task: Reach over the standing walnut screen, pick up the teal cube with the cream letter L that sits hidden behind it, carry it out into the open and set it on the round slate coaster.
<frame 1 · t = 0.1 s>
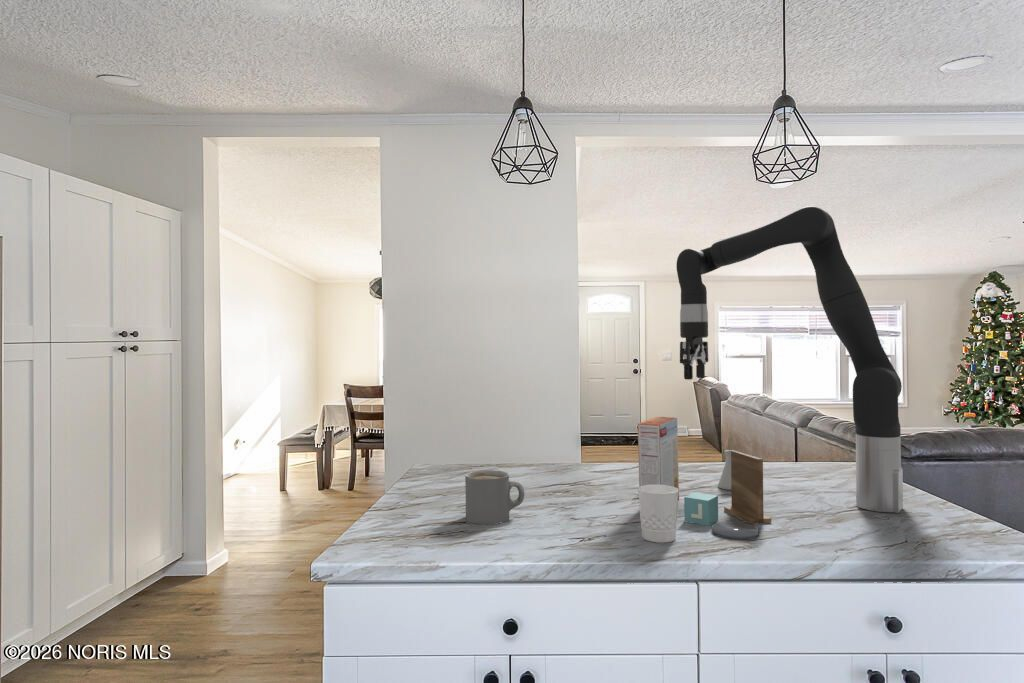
hand: (694, 378, 178), 29 cm above the counter, tool pointing down, fingers open, 8 cm apart
letter cube: (701, 521, 141), on the counter
coaster: (734, 532, 132), on the counter
flask: (731, 488, 172), on the counter
cracker box: (659, 506, 154), on the counter
white cup: (658, 538, 129), on the counter
screen: (747, 516, 144), on the counter
coffee mug: (495, 519, 145), on the counter
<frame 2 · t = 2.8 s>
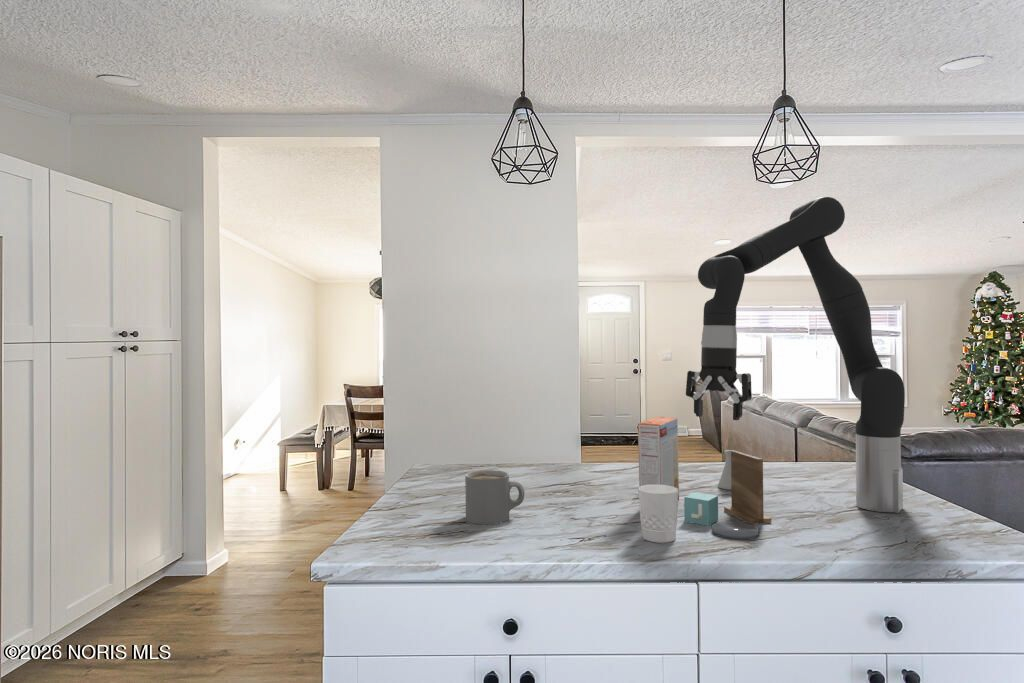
hand: (717, 418, 143), 22 cm above the counter, tool pointing down, fingers open, 8 cm apart
nothing on the counter moved.
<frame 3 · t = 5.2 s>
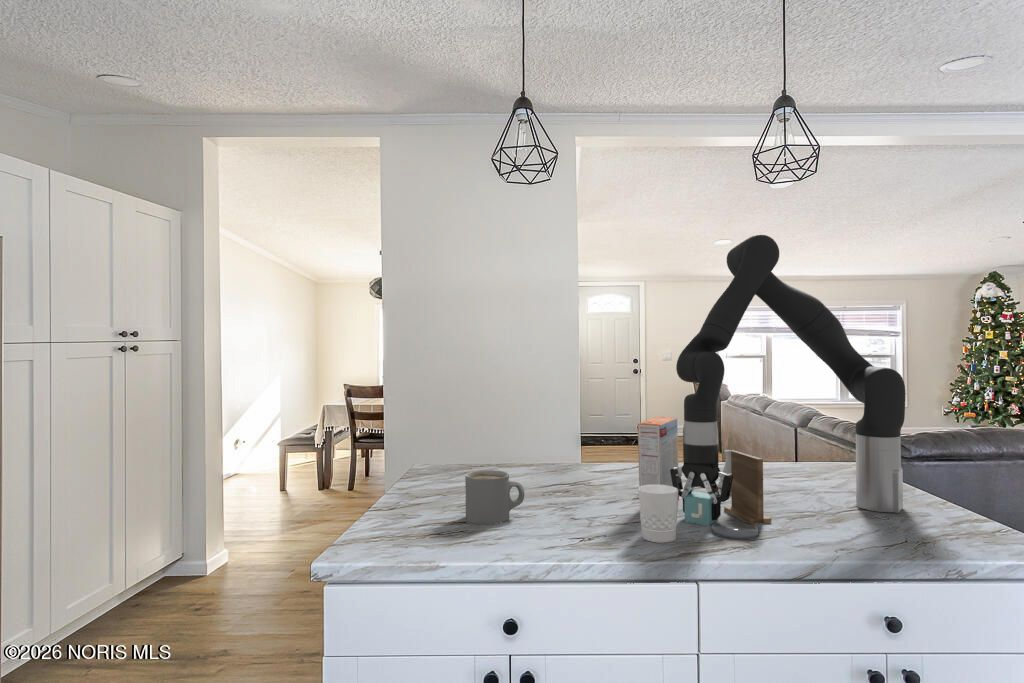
hand: (701, 517, 141), 1 cm above the counter, tool pointing down, fingers closed on letter cube, 5 cm apart
letter cube: (701, 520, 141), on the counter, touching gripper
everything else where it was.
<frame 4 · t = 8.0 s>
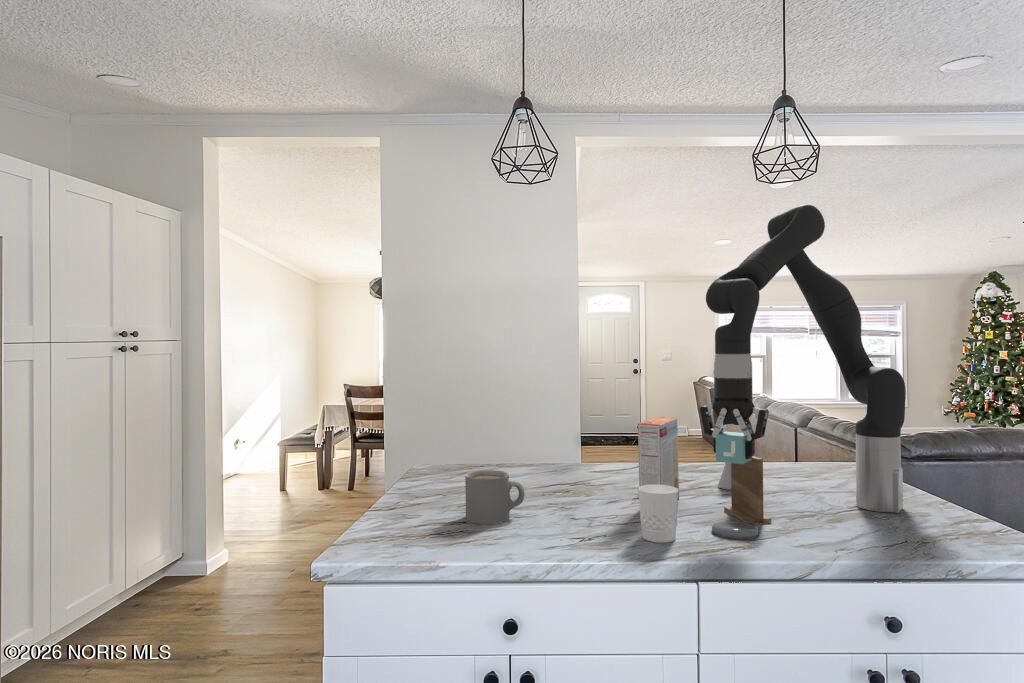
hand: (733, 456, 132), 16 cm above the counter, tool pointing down, fingers closed on letter cube, 5 cm apart
letter cube: (733, 460, 132), point 15 cm above the counter, touching gripper
everything else where it was.
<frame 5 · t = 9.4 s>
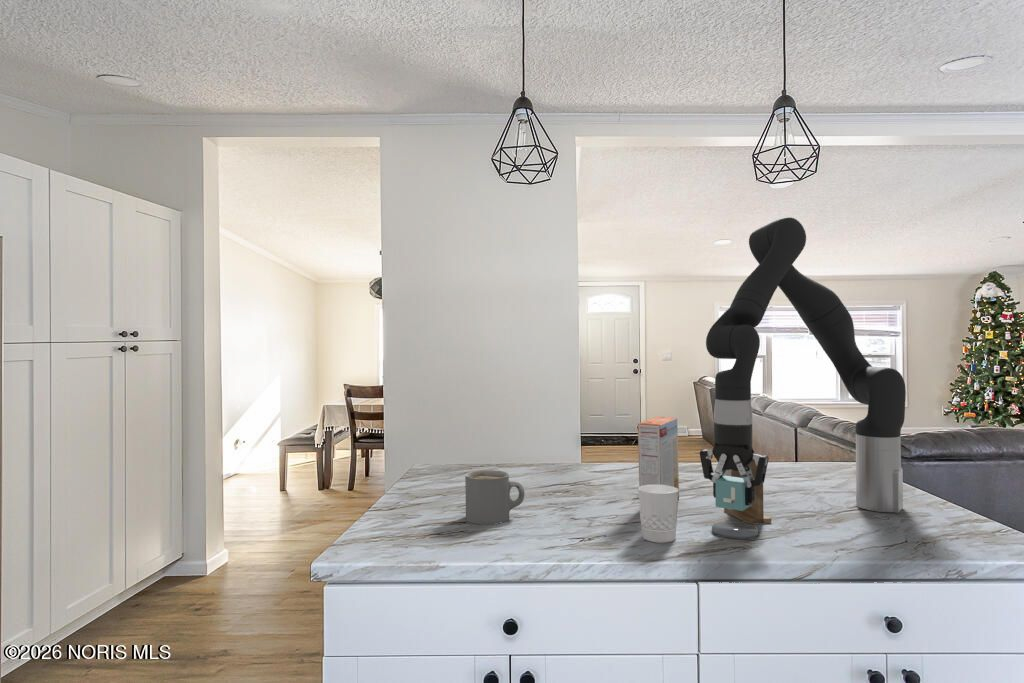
hand: (733, 502, 132), 6 cm above the counter, tool pointing down, fingers closed on letter cube, 5 cm apart
letter cube: (733, 506, 132), point 6 cm above the counter, touching gripper
everything else where it was.
when the fingers open (3 cm above the counter, at t = 10.6 s): letter cube drops 1 cm, resting on coaster.
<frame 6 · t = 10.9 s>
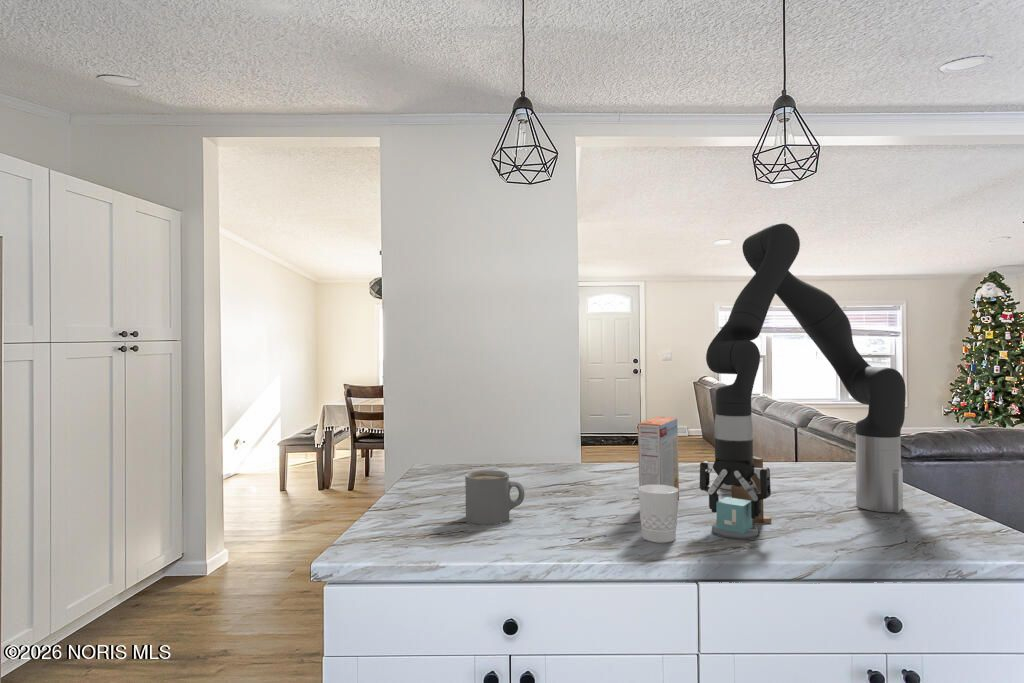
hand: (734, 514, 132), 4 cm above the counter, tool pointing down, fingers open, 8 cm apart
letter cube: (734, 527, 132), point 1 cm above the counter, touching coaster
everything else where it was.
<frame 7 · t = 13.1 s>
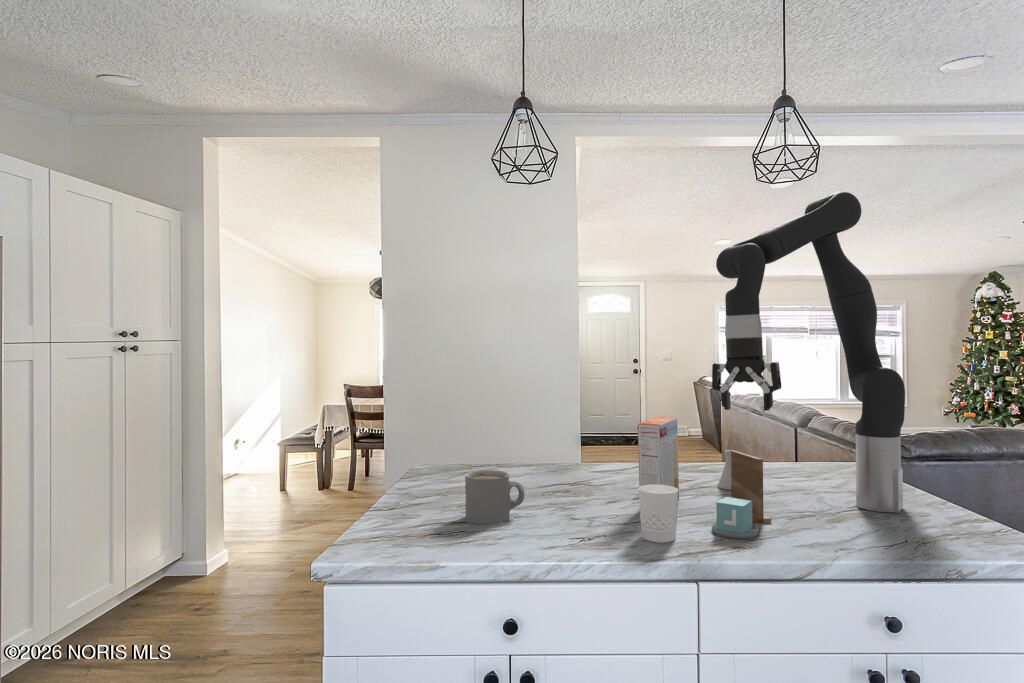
hand: (746, 409, 140), 25 cm above the counter, tool pointing down, fingers open, 8 cm apart
nothing on the counter moved.
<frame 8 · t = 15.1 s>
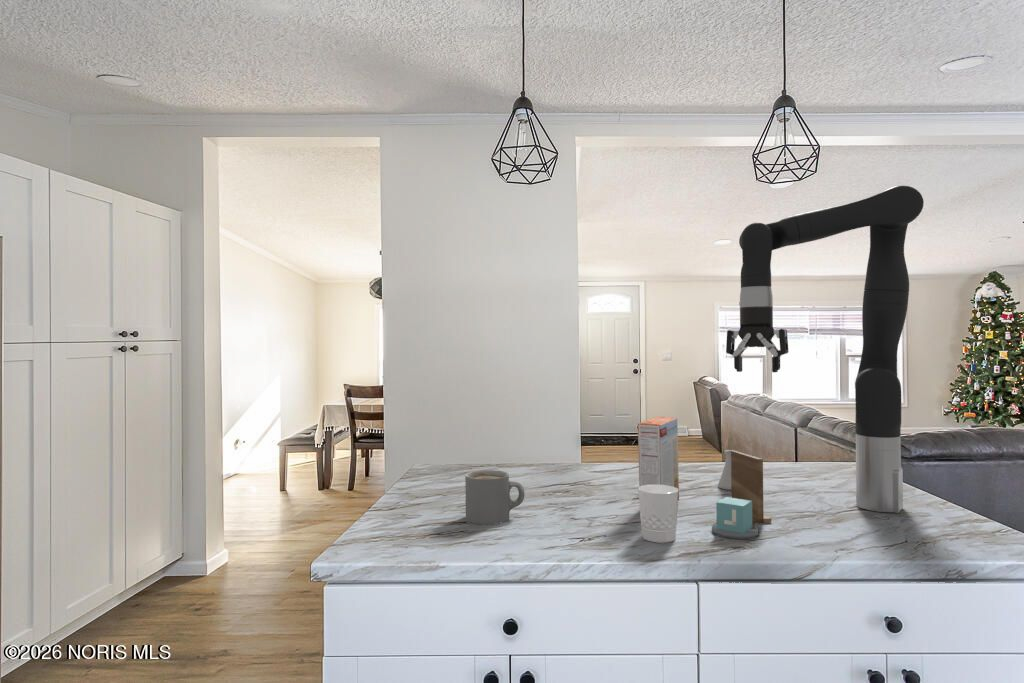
hand: (756, 371, 156), 32 cm above the counter, tool pointing down, fingers open, 8 cm apart
nothing on the counter moved.
at the end: letter cube inside the target area on the coaster (0.0 cm from its centre), point 1.0 cm above the coaster's base; letter cube tilted 0°; the gripper is holding nothing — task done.
